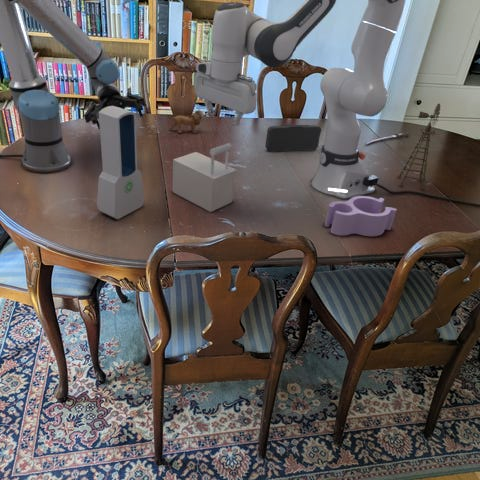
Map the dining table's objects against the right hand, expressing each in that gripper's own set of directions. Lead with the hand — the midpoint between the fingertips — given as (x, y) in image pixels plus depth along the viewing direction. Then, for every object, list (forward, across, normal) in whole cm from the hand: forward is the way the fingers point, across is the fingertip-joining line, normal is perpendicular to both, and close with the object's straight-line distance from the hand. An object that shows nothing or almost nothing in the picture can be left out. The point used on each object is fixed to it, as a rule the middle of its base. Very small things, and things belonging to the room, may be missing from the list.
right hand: (222, 120), depth 132 cm
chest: (+27, +6, 0) cm, 28 cm away
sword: (+27, -9, -105) cm, 109 cm away
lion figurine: (+27, +52, -37) cm, 69 cm away
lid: (+17, +6, 0) cm, 18 cm away
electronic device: (+27, +16, +24) cm, 40 cm away
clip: (+27, -37, -23) cm, 51 cm away
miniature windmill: (+27, -36, -67) cm, 81 cm away
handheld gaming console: (+27, +12, -58) cm, 65 cm away
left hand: (+7, +34, +10) cm, 36 cm away
